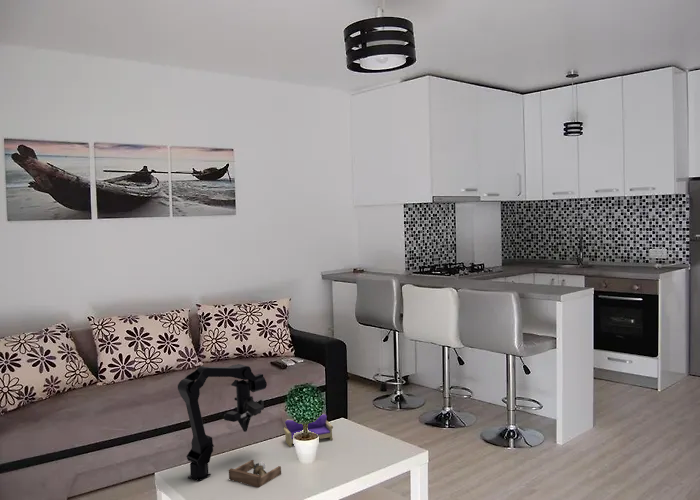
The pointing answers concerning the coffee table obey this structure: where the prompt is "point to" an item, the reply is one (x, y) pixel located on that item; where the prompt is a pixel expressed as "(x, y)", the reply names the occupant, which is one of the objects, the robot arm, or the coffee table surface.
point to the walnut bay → (252, 475)
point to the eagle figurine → (258, 468)
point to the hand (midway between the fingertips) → (245, 431)
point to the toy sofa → (318, 427)
